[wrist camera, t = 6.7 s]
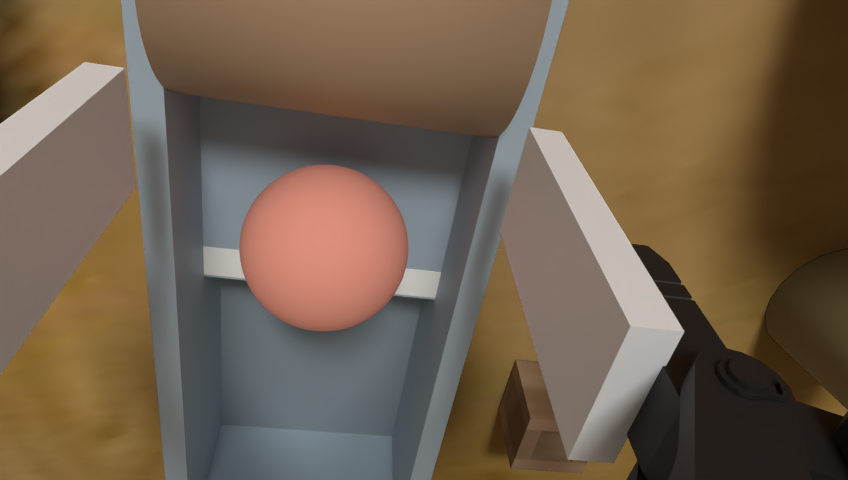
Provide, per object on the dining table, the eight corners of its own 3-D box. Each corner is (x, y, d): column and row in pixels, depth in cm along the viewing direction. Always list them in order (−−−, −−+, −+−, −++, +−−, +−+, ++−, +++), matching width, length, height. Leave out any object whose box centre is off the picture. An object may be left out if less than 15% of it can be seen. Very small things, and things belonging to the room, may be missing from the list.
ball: (419, 144, 19) (395, 262, 22) (256, 122, 18) (255, 246, 21) (425, 249, 15) (395, 373, 18) (218, 225, 14) (225, 358, 18)
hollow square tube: (583, 366, 29) (605, 424, 26) (562, 413, 31) (581, 473, 28) (515, 359, 29) (530, 418, 26) (498, 408, 30) (510, 468, 28)
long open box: (550, -168, 17) (645, -174, 11) (404, 445, 32) (409, 593, 25) (186, -248, 16) (56, -306, 10) (207, 432, 30) (160, 585, 24)
